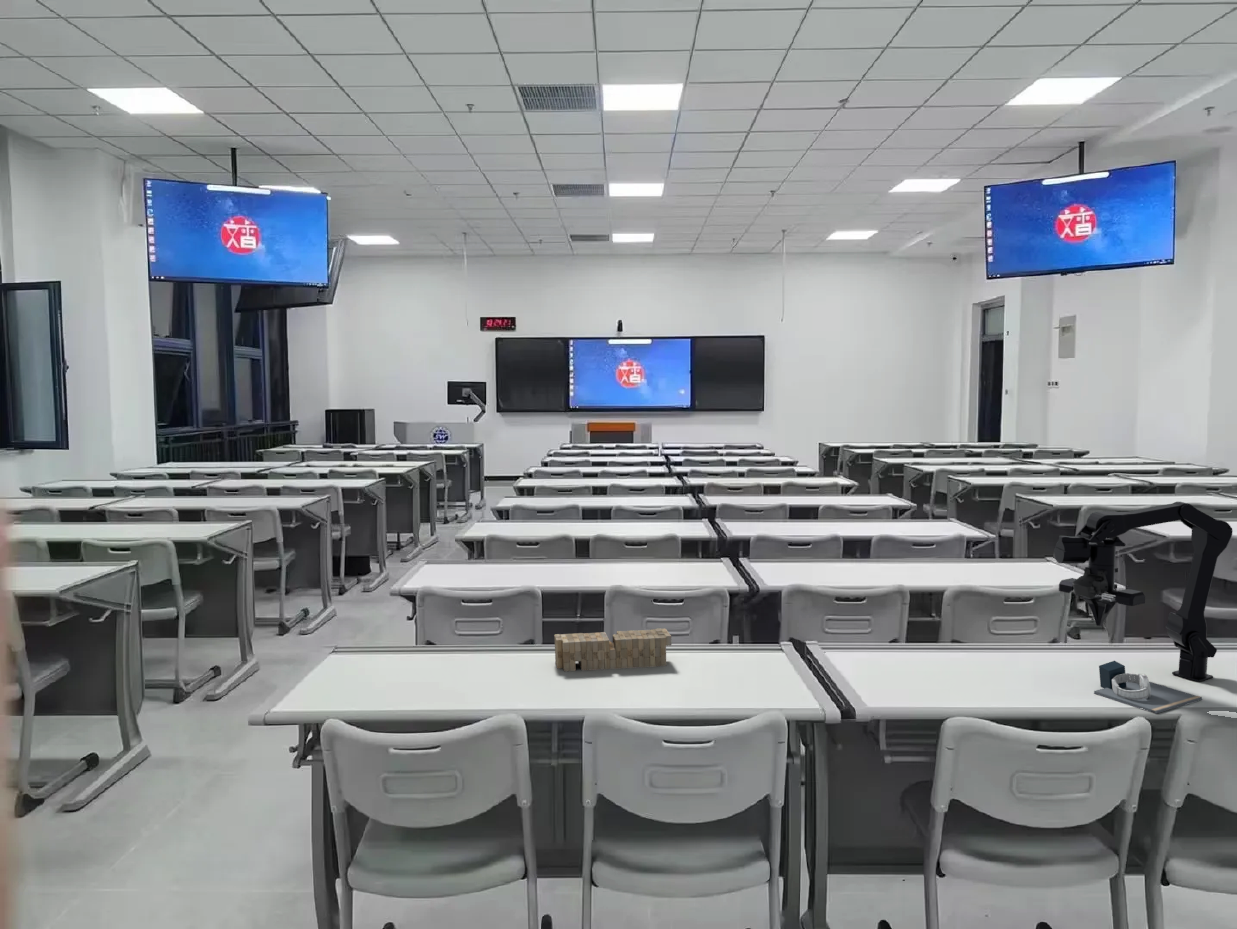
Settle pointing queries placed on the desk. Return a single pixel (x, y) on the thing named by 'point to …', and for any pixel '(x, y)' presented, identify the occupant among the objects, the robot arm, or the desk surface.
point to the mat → (1153, 697)
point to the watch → (1123, 681)
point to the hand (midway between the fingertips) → (1099, 625)
